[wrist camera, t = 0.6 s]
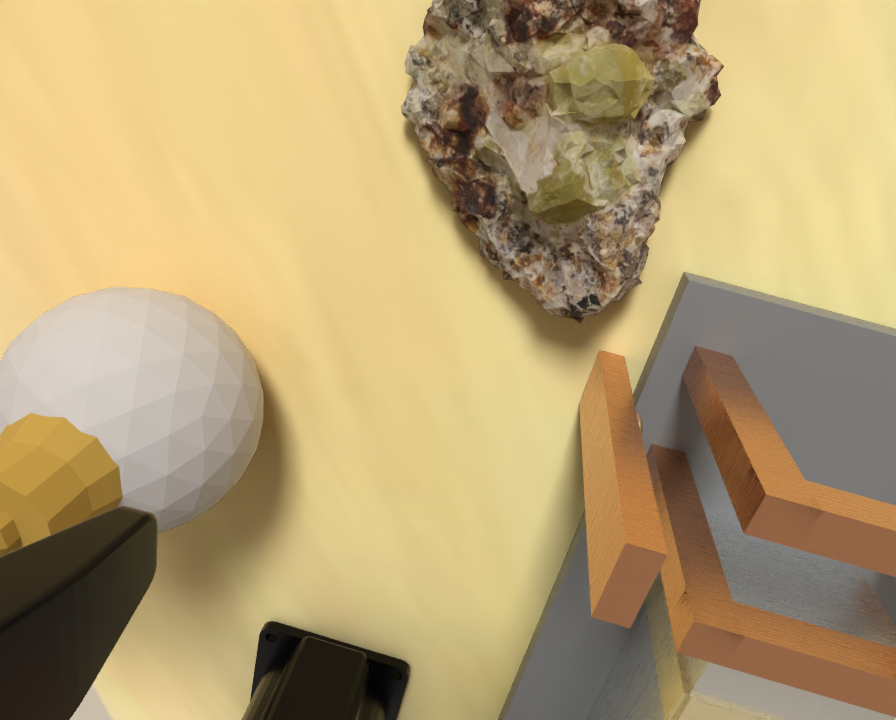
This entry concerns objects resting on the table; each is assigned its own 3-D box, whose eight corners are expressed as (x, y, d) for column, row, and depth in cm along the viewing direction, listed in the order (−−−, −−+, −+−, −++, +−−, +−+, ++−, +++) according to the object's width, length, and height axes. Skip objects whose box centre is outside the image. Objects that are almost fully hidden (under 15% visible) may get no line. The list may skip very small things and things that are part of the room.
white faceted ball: (312, 455, 24) (104, 784, 13) (77, 451, 25) (-280, 740, 15) (272, 254, 21) (-44, 466, 10) (8, 266, 22) (-507, 457, 12)
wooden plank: (611, 412, 21) (643, 632, 13) (579, 403, 21) (591, 617, 13) (632, 359, 20) (682, 558, 12) (599, 350, 20) (626, 542, 12)
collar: (924, 549, 20) (1093, 775, 14) (640, 468, 21) (676, 652, 14) (942, 525, 20) (1125, 747, 13) (651, 443, 20) (694, 621, 14)
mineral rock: (331, -76, 15) (710, -203, 11) (417, -63, 18) (726, -158, 15) (424, 348, 19) (715, 354, 16) (479, 293, 23) (727, 287, 19)
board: (731, 817, 28) (736, 837, 27) (488, 743, 29) (486, 760, 28) (1064, 374, 18) (1084, 387, 18) (684, 272, 19) (688, 280, 18)
